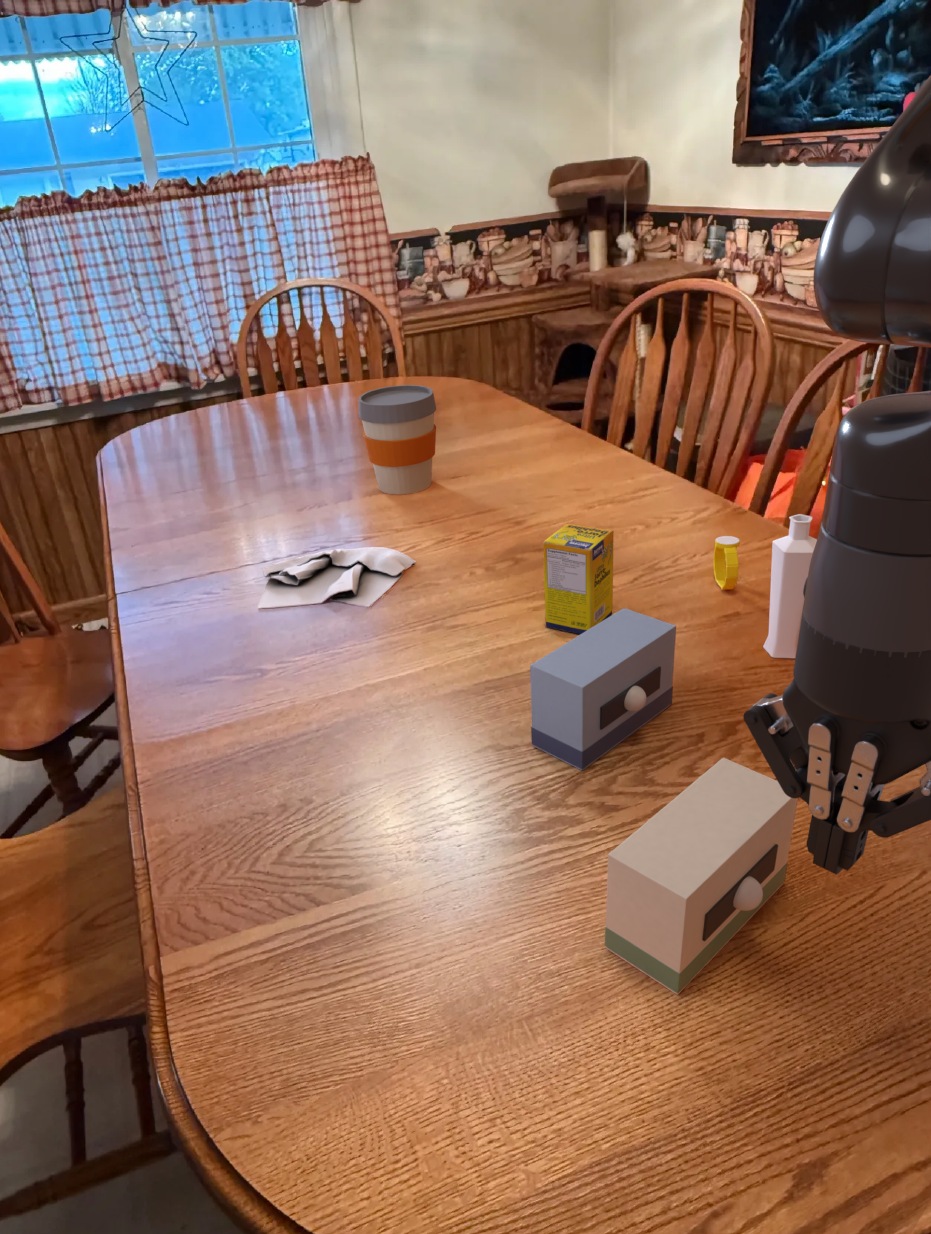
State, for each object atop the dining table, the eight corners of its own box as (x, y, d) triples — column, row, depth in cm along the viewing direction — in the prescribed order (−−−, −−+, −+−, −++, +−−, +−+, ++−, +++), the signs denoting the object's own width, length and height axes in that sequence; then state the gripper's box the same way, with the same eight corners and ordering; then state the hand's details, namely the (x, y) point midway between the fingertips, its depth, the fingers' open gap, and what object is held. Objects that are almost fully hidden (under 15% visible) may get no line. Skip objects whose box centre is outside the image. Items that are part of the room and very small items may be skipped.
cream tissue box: (713, 846, 72) (722, 756, 67) (803, 893, 67) (820, 799, 62) (604, 948, 64) (606, 854, 59) (696, 1009, 59) (707, 912, 54)
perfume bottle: (751, 651, 96) (766, 520, 88) (773, 636, 98) (790, 506, 91) (791, 666, 93) (810, 531, 85) (812, 649, 95) (834, 517, 88)
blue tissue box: (621, 684, 93) (624, 607, 88) (684, 710, 88) (690, 630, 83) (531, 745, 85) (528, 665, 81) (595, 778, 80) (596, 694, 76)
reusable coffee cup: (416, 502, 143) (407, 408, 136) (353, 493, 149) (341, 402, 142) (455, 476, 152) (449, 386, 144) (394, 469, 158) (384, 382, 150)
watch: (742, 595, 107) (747, 549, 104) (718, 597, 107) (722, 551, 104) (728, 574, 112) (732, 529, 109) (706, 575, 112) (709, 531, 109)
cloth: (435, 559, 124) (434, 543, 122) (338, 629, 109) (335, 611, 107) (321, 538, 134) (319, 522, 133) (218, 599, 119) (214, 582, 118)
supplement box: (613, 615, 106) (615, 529, 100) (591, 638, 102) (592, 549, 96) (567, 606, 109) (566, 521, 103) (544, 627, 105) (542, 540, 99)
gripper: (1056, 620, 43) (972, 882, 52) (796, 554, 52) (763, 788, 61) (997, 684, 39) (918, 956, 48) (726, 601, 48) (701, 844, 57)
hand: (831, 862), depth 55 cm, fingers closed
